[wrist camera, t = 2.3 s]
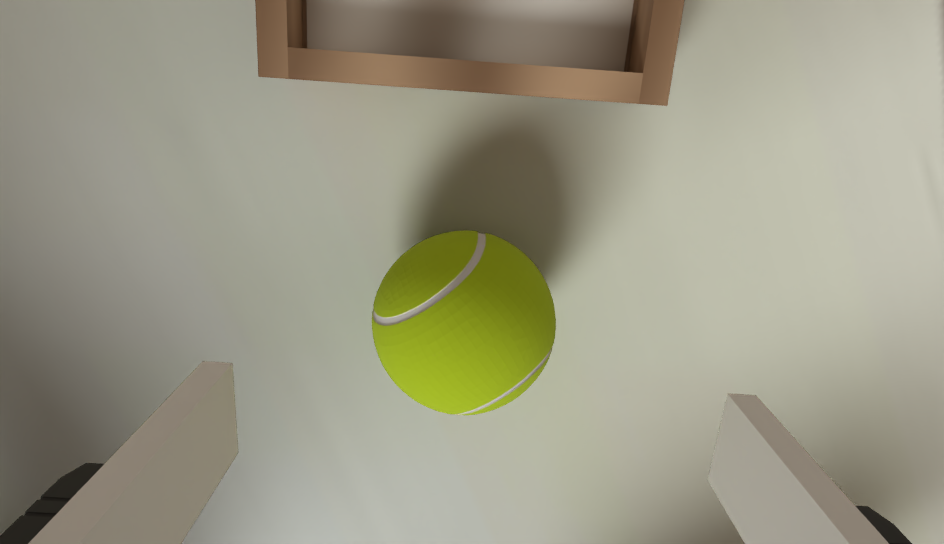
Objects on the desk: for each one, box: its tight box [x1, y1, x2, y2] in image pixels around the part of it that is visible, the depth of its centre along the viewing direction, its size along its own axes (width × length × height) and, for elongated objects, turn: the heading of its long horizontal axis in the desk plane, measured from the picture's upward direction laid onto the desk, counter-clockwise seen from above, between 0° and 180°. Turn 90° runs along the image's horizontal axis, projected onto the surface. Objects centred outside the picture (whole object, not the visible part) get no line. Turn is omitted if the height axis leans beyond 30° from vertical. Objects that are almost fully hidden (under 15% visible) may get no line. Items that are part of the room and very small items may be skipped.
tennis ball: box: [372, 230, 556, 415], centre depth 23 cm, size 7×7×7 cm
